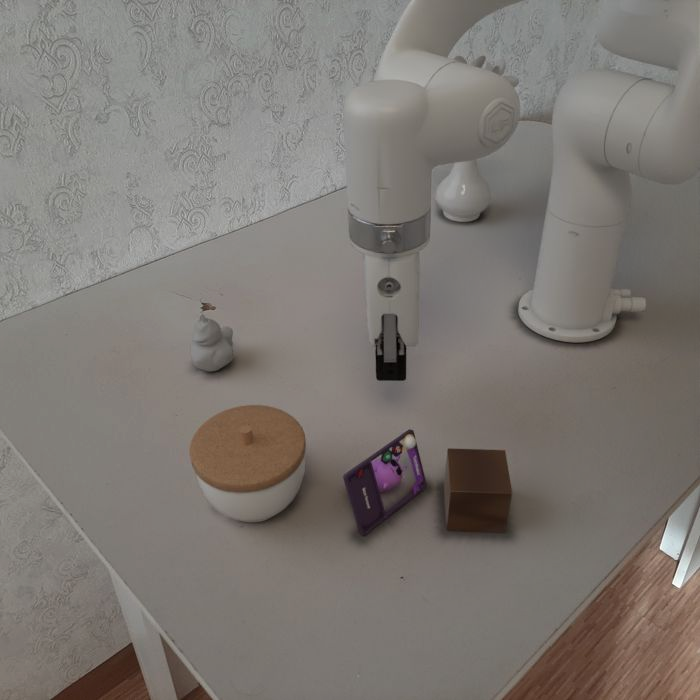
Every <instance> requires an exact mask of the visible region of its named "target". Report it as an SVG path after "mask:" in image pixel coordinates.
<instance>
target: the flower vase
mask: <svg viewBox="0 0 700 700" xmlns="http://www.w3.org/2000/svg"><path fill="white" fill-rule="evenodd" d="M486 58H487V57H486V55H480V56H477V57H476V58H475V59H474V60H473V61H472V62H471V64H470V65H472V66H475V67H479V68H482V69H486V70H489V71H491V72H494V73H496V74H498V75H500V76H502V77H503V78H505V79H506V80H507V81H509V82H510V83H511V85H512V86H513V87H514V88H516V87H518V86H519V84H520V79H519V78H518V77H517V76H514V75H504V73H505V70H506V65H507V63H506V59H505V58H504V57H500V58H498V59H497V60H496V62H495V63H494V64H493V65H492V63H491V62H490V61H489V60H487V59H486ZM453 60H457V61H460V62H463V63H465V64H468V65H469V63H468V62H467V60H466V58H465V57H464V56H462V55H456V56H454V58H453ZM486 60H487V61H486ZM485 62H486V63H485ZM484 64H485V68H483V66H484ZM492 198H493V196H492V190H491V187H490V185H489V184H488V182H487V181H486V180H485V179H484V178H483V177H482V175H481V173H480V170H479V165H478V159H475V160H471V161H464V162H457V163H453V166H452V168H451V170H450V172H449V174H448V175H447V176H445V178H443V179H442V180H441V181H440V182H439V183H438V185H437V187H436V189H435V192H434V200H435V202H436V205H438V207H439V208H440V209H441V210H442V213H443V216H444V217H445V218H446V219H448V220H449V221H452V222H458V223H469V222H473V221H475V220H477V219H479V217H480V216H481V213H483V212H485V210H486V209H487V208H488V207H489V206H490V204H491V202H492Z"/></svg>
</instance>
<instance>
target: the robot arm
mask: <svg viewBox="0 0 700 700" xmlns="http://www.w3.org/2000/svg"><path fill="white" fill-rule="evenodd" d="M524 1H525V0H410V1H409V2H408V4H407V5H406V7H405V9H404V10H403V12H402V13H401V16H400V17H399V20H398V21H397V23H396V25H395V27H394V29H393V32H392V33H391V35H390V38H389V39H388V41H387V43H386V45H385V48H384V50H383V52H382V54H381V57H380V59H379V61H378V64H377V67H376V69H375V72H374V76H373V80H372V81H368V82H364V83H362V84H359V85H357V86H356V87H354V88H352V89H351V90H350V91H349V93H348V94H347V95H346V97H345V99H344V102H343V105H342V107H343V108H342V123H343V126H342V127H343V143H344V162H345V163H344V165H345V178H346V179H345V180H346V198H347V220H348V222H347V224H348V237H349V238H348V239H349V244H350V245H351V247H352V248H353V249H354V250H356V251H357V252H359V253H361V254H362V269H363V270H362V271H363V288H364V290H363V291H364V303H365V305H364V306H365V314H366V327H367V335H368V343H369V344H370V345H371V346H372V347H374V348H375V351H374V352H375V353H374V354H375V379H376V380H377V381H379V382H403V381H406V380H407V348H408V347H412V348H414V347H416V346H417V345H418V344H419V342H420V284H421V281H420V280H421V278H420V277H421V276H420V275H421V272H420V271H421V268H420V267H421V266H420V265H421V263H420V261H421V260H420V259H421V257H420V252H421V251H422V250H424V249H425V248H426V247H427V246H428V244H429V243H430V240H431V219H432V218H431V217H432V216H431V215H432V175H433V174H432V173H433V170H434V169H435V167H437V166H444V165H449V164H455V163H457V162H464V161H471V160H475V159H477V160H479V159H482V158H485V157H487V156H489V155H491V154H493V153H495V152H497V151H499V150H500V149H501V148H502V147H503V146H505V145H506V144H507V143H508V141H509V140H510V139H511V137H512V136H513V135H514V133H515V131H516V129H517V127H518V124H519V121H520V117H521V109H522V107H521V100H520V96H519V94H518V91H517V90H516V87H513V86H512V85H511V83H510V82H509V81H507V80H506V79H505V78H503V77H502V76H503V75H502V76H500V75H498V74H496V73H494V72H491V71H489V70H486V68H484V69H482V68H483V67H481V68H479V67H475V66H472V65H471V64H469V63H468V64H465V63H463V62H460V61H457V60H454V58H450V57H449V55H450V54H451V52H452V50H453V49H454V47H455V46H456V45H457V44H458V42H459V41H460V40H461V38H463V36H464V35H465V34H466V33H467V32H468V31H469V30H470V29H471V28H472V27H473V26H475V25H476V24H477V23H478V22H480V21H481V20H483V19H484V18H486V17H487V16H489V15H491V14H493V13H495V12H497V11H499V10H502V9H504V8H507V7H509V6H512V5H515V4H518V3H521V2H524ZM596 38H597V40H598V44H599V45H600V46H601V47H602V48H604V50H605V51H607V52H609V53H611V54H614V55H616V56H619V57H621V58H625V59H629V60H633V61H635V62H640V63H645V64H649V65H653V66H655V67H656V66H657V67H661V68H665V69H670V70H673V71H677V77H676V82H675V85H674V84H671V83H665V82H662V81H658V80H654V79H653V78H649V77H646V76H641V75H637V74H633V73H629V72H625V71H621V70H617V69H610V68H589V69H586V70H583V71H580V72H578V73H576V74H574V75H573V76H571V77H570V78H569V79H568V80H567V81H566V82H565V83H563V86H562V87H561V89H560V90H559V92H558V94H557V96H556V99H555V101H554V105H553V108H552V109H553V110H552V117H551V138H552V139H551V140H552V169H551V179H550V185H549V191H548V199H547V204H546V210H545V215H544V221H543V227H542V234H541V239H540V247H539V251H538V259H537V264H536V271H535V275H534V276H535V277H534V283H533V287H532V289H529V290H528V291H526V292H525V293H524V294H523V295H522V296H521V298H520V299H519V302H518V308H517V312H518V316H519V318H520V320H521V322H522V323H523V324H524V325H525V326H526V327H527V328H529V330H531V331H533V332H535V333H536V334H538V335H540V336H543V337H545V338H548V339H551V340H554V341H558V342H564V343H577V344H578V343H589V342H595V341H597V340H600V339H603V338H605V337H607V336H608V335H609V334H611V333H612V331H613V330H614V328H615V326H616V322H617V315H619V314H620V313H621V312H629V313H644V312H646V308H647V299H646V297H642V296H632V291H631V289H630V288H619V289H618V288H613V287H612V284H613V280H614V276H615V272H616V268H617V264H618V260H619V259H618V258H619V255H620V253H621V247H622V243H623V239H624V235H625V230H626V226H627V223H628V218H629V215H630V210H631V207H632V200H633V191H632V190H633V189H632V179H631V176H630V174H632V175H635V176H638V177H640V178H643V179H647V180H649V181H652V182H656V183H659V184H663V185H669V186H671V185H672V186H674V185H680V184H684V183H686V182H689V180H691V179H692V178H693V177H695V176H696V175H697V174H698V173H699V171H700V0H602V1H601V5H600V7H599V13H598V17H597V24H596Z"/></svg>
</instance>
